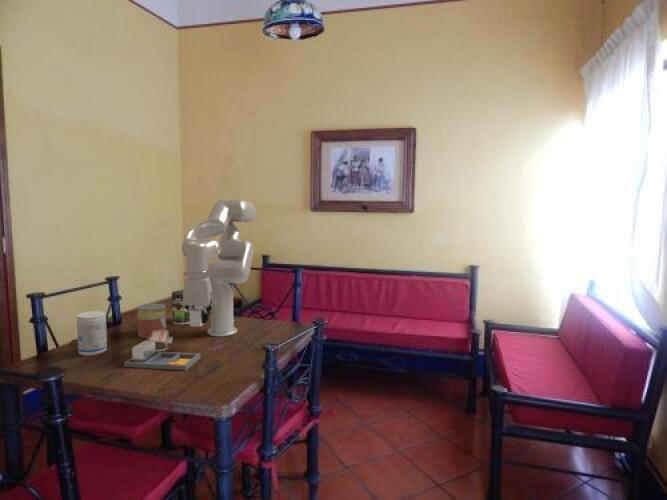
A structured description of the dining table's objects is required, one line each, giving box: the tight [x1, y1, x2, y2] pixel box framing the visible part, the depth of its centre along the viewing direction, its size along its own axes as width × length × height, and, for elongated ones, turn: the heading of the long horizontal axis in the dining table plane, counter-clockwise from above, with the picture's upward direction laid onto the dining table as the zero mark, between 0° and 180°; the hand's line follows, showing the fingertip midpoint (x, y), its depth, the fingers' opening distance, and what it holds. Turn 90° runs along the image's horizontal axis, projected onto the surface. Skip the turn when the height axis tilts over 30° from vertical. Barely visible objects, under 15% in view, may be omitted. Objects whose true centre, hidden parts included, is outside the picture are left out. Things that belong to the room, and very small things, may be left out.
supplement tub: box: [76, 310, 108, 357], centre depth 168 cm, size 10×10×15 cm
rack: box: [123, 351, 201, 371], centre depth 157 cm, size 12×22×3 cm, turn 83°
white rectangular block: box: [189, 306, 204, 327], centre depth 170 cm, size 8×4×6 cm, turn 173°
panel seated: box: [131, 340, 156, 362], centre depth 157 cm, size 8×4×6 cm, turn 173°
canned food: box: [136, 302, 167, 339], centre depth 191 cm, size 11×11×12 cm
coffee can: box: [171, 289, 190, 325], centre depth 210 cm, size 10×10×14 cm
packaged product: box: [145, 329, 174, 352], centre depth 176 cm, size 18×5×10 cm
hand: (199, 321), depth 170 cm, fingers closed on white rectangular block, 4 cm apart
